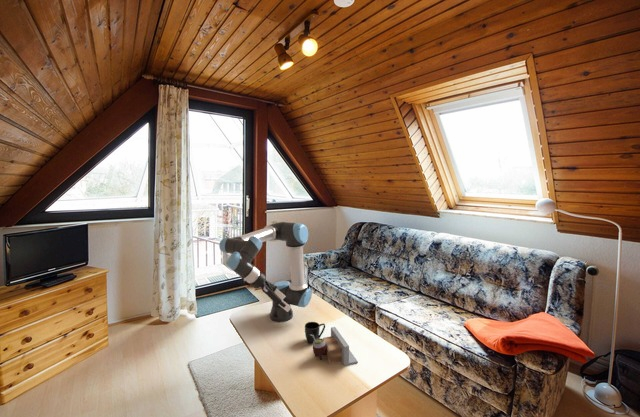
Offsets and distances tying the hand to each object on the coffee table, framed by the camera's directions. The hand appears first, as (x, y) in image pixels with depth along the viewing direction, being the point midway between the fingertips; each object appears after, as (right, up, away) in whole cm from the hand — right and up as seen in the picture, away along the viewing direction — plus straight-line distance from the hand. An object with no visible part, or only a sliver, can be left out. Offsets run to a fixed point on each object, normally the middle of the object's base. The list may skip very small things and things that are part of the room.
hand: (286, 303), depth 143 cm
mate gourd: (+17, -28, +4) cm, 33 cm away
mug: (+14, -28, +20) cm, 37 cm away
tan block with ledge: (+23, -29, +7) cm, 38 cm away
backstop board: (+29, -29, +9) cm, 42 cm away
